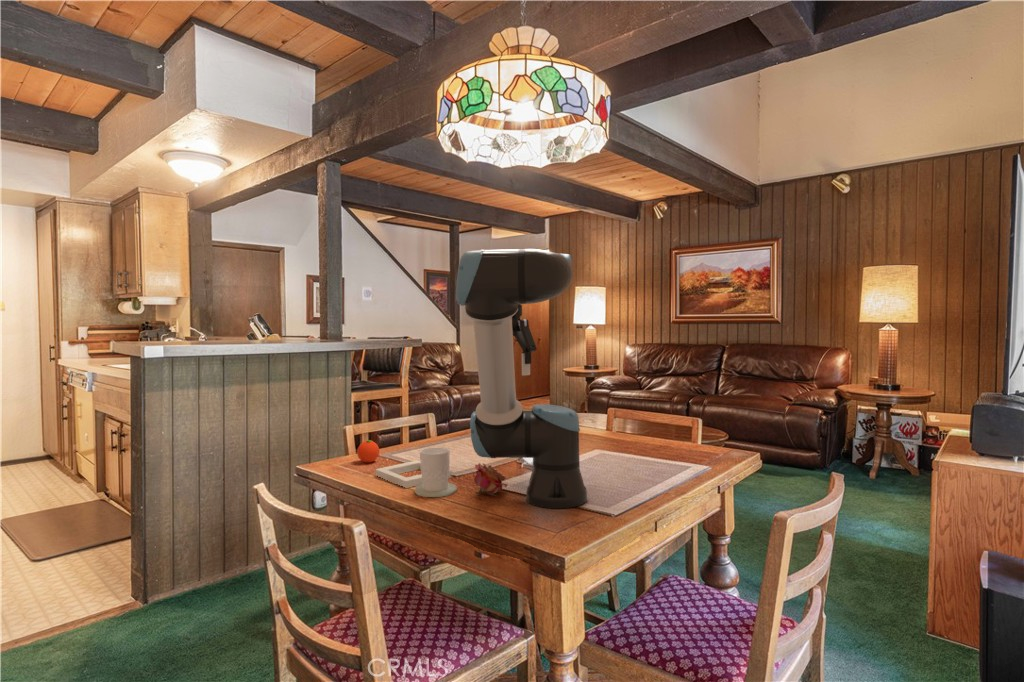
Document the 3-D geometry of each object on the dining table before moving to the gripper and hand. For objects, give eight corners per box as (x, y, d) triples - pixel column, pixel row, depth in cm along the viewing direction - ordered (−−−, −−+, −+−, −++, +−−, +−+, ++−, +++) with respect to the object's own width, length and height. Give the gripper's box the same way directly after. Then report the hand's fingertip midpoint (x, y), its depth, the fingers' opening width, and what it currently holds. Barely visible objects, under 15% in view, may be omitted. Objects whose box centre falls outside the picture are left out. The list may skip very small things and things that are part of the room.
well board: (451, 477, 159) (451, 470, 159) (406, 488, 149) (406, 481, 149) (419, 466, 172) (419, 460, 172) (375, 476, 162) (375, 469, 162)
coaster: (464, 491, 146) (464, 488, 146) (429, 500, 139) (429, 497, 139) (441, 482, 154) (441, 479, 154) (406, 491, 147) (406, 488, 147)
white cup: (453, 483, 150) (452, 447, 150) (446, 492, 142) (446, 454, 142) (425, 483, 151) (424, 447, 151) (417, 492, 143) (416, 454, 143)
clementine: (362, 458, 182) (361, 437, 182) (383, 458, 182) (382, 437, 182) (354, 465, 174) (353, 442, 174) (376, 465, 174) (375, 442, 174)
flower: (475, 496, 136) (493, 468, 137) (458, 480, 144) (475, 454, 145) (500, 510, 142) (517, 483, 143) (482, 494, 149) (499, 468, 150)
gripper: (547, 302, 160) (548, 375, 161) (492, 305, 179) (493, 370, 179) (529, 302, 155) (530, 377, 156) (474, 304, 174) (475, 372, 174)
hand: (510, 373), depth 168 cm, fingers open, 13 cm apart
